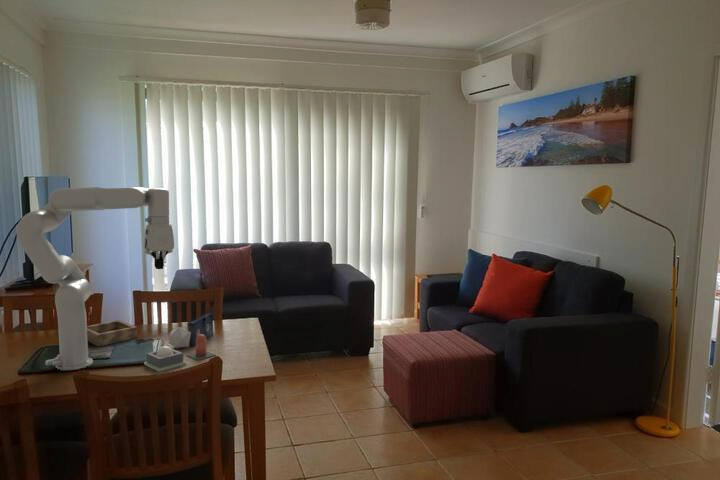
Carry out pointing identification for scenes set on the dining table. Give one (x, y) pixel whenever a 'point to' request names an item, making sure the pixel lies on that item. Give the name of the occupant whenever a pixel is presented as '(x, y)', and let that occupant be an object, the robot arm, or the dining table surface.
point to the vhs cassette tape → (200, 328)
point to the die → (179, 337)
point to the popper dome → (164, 351)
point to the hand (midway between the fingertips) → (159, 268)
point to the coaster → (201, 356)
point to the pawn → (201, 345)
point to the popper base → (164, 361)
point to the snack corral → (110, 332)
